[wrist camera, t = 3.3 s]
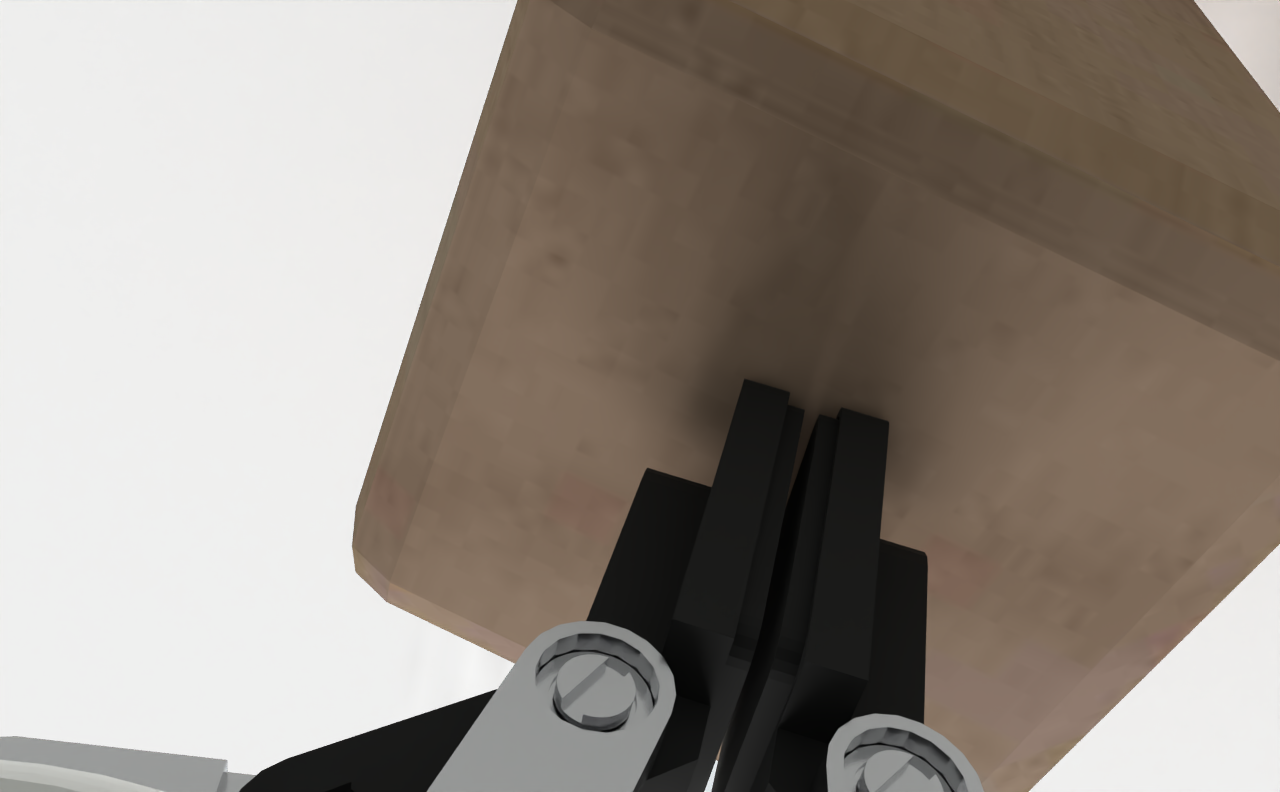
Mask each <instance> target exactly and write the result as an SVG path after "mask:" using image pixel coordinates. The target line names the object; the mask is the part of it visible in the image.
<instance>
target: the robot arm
mask: <svg viewBox="0 0 1280 792" xmlns="http://www.w3.org/2000/svg"><path fill="white" fill-rule="evenodd" d="M789 396H790V392H788V391H785V390H782V389H778V388H775V387H771V386H768V385H765V384H761V383H758V382H755V381H751V380H748V379H744V381H743V385H742V388H741V391H740V395H739V398H738V401H737V405H736V408H735V411H734V415H733V418H732V421H731V425H730V428H729V431H728V435H727V438H726V441H725V445H724V448H723V451H722V455H721V458H720V461H719V465H718V468H717V471H716V475H715V478H714V481H713V485H712V487H709V486H706V485H703V484H700V483H696V482H693V481H690V480H686V479H683V478H680V477H677V476H673V475H670V474H667V473H663V472H660V471H657V470H654V469H650V468H647V469H646V470H645V472H644V475H643V477H642V479H641V482H640V485H639V487H638V490H637V492H636V495H635V497H634V500H633V502H632V505H631V507H630V510H629V513H628V515H627V518H626V520H625V523H624V525H623V528H622V530H621V533H620V536H619V538H618V541H617V543H616V546H615V548H614V551H613V553H612V556H611V558H610V561H609V564H608V566H607V569H606V571H605V574H604V576H603V579H602V581H601V584H600V586H599V589H598V592H597V594H596V597H595V599H594V602H593V604H592V607H591V609H590V612H589V615H588V617H587V620H586V621H578V622H572V623H566V624H560V625H558V626H556V627H554V628H552V629H549V630H547V631H545V632H543V633H541V634H540V635H539V636H538V637H537V638H536V639H535V640H534V641H533V642H532V643H531V644H530V645H529V646H528V647H527V648H526V649H525V650H524V652H523V653H522V655H521V656H520V658H519V659H518V660H517V662H516V663H515V665H514V666H513V668H512V669H511V671H510V672H509V673H508V675H507V676H506V678H505V679H504V681H503V682H502V684H501V685H500V686H499V688H498V689H496V690H493V691H490V692H487V693H484V694H481V695H478V696H475V697H472V698H469V699H466V700H463V701H460V702H457V703H454V704H451V705H448V706H445V707H442V708H439V709H436V710H433V711H430V712H427V713H424V714H421V715H418V716H415V717H412V718H409V719H406V720H403V721H399V722H396V723H393V724H390V725H387V726H384V727H381V728H378V729H375V730H372V731H369V732H366V733H363V734H360V735H357V736H354V737H351V738H348V739H345V740H342V741H339V742H336V743H333V744H330V745H327V746H324V747H321V748H318V749H315V750H312V751H309V752H306V753H303V754H300V755H297V756H294V757H291V758H288V759H285V760H283V761H281V762H279V763H277V764H275V765H273V766H271V767H269V768H267V769H264V770H262V771H261V772H260V773H259V774H257V775H249V774H240V773H231V772H227V760H222V759H213V758H205V757H196V756H187V755H178V754H169V753H160V752H151V751H142V750H133V749H125V748H116V747H107V746H98V745H89V744H80V743H71V742H62V741H54V740H45V739H36V738H27V737H18V736H11V737H0V792H704V791H705V788H706V785H707V782H708V780H709V777H710V774H711V772H712V769H713V766H714V763H715V761H716V758H717V755H718V752H719V750H720V747H721V750H720V755H719V760H718V764H717V769H716V773H715V778H714V783H713V787H712V792H984V790H983V787H982V785H981V782H980V779H979V777H978V774H977V773H976V771H975V770H974V768H973V767H972V765H971V764H970V763H969V761H968V760H967V758H966V757H965V756H964V754H963V753H962V752H961V751H960V750H959V749H957V748H956V747H955V746H954V745H953V744H952V743H951V742H950V741H949V740H947V739H946V738H945V737H944V736H943V735H941V734H939V733H937V732H936V731H934V730H932V729H931V728H929V727H927V726H925V725H924V708H925V667H926V627H927V586H928V559H927V555H926V553H925V552H923V551H919V550H916V549H913V548H910V547H906V546H903V545H900V544H896V543H893V542H890V541H887V540H883V539H880V532H881V520H882V508H883V496H884V484H885V471H886V459H887V447H888V435H889V422H888V421H886V420H883V419H880V418H876V417H873V416H870V415H866V414H863V413H859V412H856V411H853V410H849V409H846V408H843V407H841V409H840V410H839V412H838V415H837V417H836V419H835V418H831V417H828V416H825V415H821V414H819V416H818V418H817V420H816V423H815V426H814V428H813V431H812V434H811V437H810V440H809V443H808V445H807V448H806V451H805V454H804V457H803V460H802V463H801V465H800V468H799V471H798V474H797V477H796V480H795V482H794V485H793V488H792V491H791V494H790V497H789V499H788V502H787V497H788V492H789V487H790V483H791V478H792V473H793V468H794V463H795V458H796V453H797V448H798V443H799V438H800V433H801V428H802V423H803V418H804V413H805V410H804V409H801V408H798V407H794V406H791V405H788V401H789ZM786 502H787V505H786ZM785 507H786V508H785ZM721 744H722V746H721Z"/></svg>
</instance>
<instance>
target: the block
mask: <svg viewBox="0 0 1280 792" xmlns="http://www.w3.org/2000/svg"><path fill="white" fill-rule="evenodd" d="M744 379H748V380H751V381H755V382H758V383H761V384H765V385H768V386H771V387H775V388H778V389H782V390H785V391H788V392H790V396H789V401H788V405H791V406H794V407H798V408H801V409H804V410H805V413H804V418H803V423H802V428H801V433H800V438H799V443H798V448H797V453H796V458H795V463H794V468H793V473H792V478H791V483H790V487H789V492H788V497H787V502H788V499H789V497H790V494H791V491H792V488H793V485H794V482H795V480H796V477H797V474H798V471H799V468H800V465H801V463H802V460H803V457H804V454H805V451H806V448H807V445H808V443H809V440H810V437H811V434H812V431H813V428H814V426H815V423H816V420H817V418H818V416H819V414H821V415H825V416H828V417H831V418H835V419H836V417H837V415H838V412H839V410H840V409H841V407H843V408H846V409H849V410H853V411H856V412H859V413H863V414H866V415H870V416H873V417H876V418H880V419H883V420H886V421H888V422H889V435H888V447H887V459H886V471H885V484H884V496H883V508H882V520H881V532H880V539H883V540H887V541H890V542H893V543H896V544H900V545H903V546H906V547H910V548H913V549H916V550H919V551H923V552H925V553H926V555H927V559H928V586H927V627H926V667H925V708H924V725H925V726H927V727H929V728H931V729H932V730H934V731H936V732H937V733H939V734H941V735H943V736H944V737H945V738H946V739H947V740H949V741H950V742H951V743H952V744H953V745H954V746H955V747H956V748H957V749H959V750H960V751H961V752H962V753H963V754H964V756H965V757H966V758H967V760H968V761H969V763H970V764H971V765H972V767H973V768H974V770H975V771H976V773H977V774H978V777H979V779H980V782H981V785H982V787H983V790H984V792H1028V791H1029V790H1030V789H1031V788H1032V787H1033V786H1035V785H1036V784H1037V783H1038V782H1039V781H1040V780H1041V779H1042V778H1043V777H1044V776H1045V775H1046V774H1047V773H1048V772H1049V771H1050V770H1051V769H1052V768H1053V767H1054V766H1055V765H1056V764H1057V763H1058V762H1059V761H1060V760H1061V759H1062V758H1063V757H1064V756H1065V755H1066V754H1067V753H1068V752H1069V751H1070V750H1071V749H1072V748H1073V747H1074V746H1075V745H1076V744H1077V743H1078V742H1079V741H1080V740H1081V739H1082V738H1083V737H1084V736H1085V735H1086V734H1087V733H1088V732H1089V731H1090V730H1091V729H1092V728H1093V727H1094V726H1095V725H1096V724H1097V723H1098V722H1099V721H1100V720H1101V719H1102V718H1104V717H1105V716H1106V715H1107V714H1108V713H1109V712H1110V711H1111V710H1112V709H1113V708H1114V707H1115V706H1116V705H1117V704H1118V703H1119V702H1120V701H1121V700H1122V699H1123V698H1124V697H1125V696H1126V695H1127V694H1128V693H1129V692H1130V691H1131V690H1132V689H1133V688H1134V687H1135V686H1136V685H1137V684H1138V683H1139V682H1140V681H1141V680H1142V679H1143V678H1144V677H1145V676H1146V675H1147V674H1148V673H1149V672H1150V671H1151V670H1152V669H1153V668H1154V667H1155V666H1156V665H1157V664H1158V663H1159V662H1160V661H1161V660H1162V659H1163V658H1164V657H1165V656H1166V655H1167V654H1168V653H1169V652H1170V651H1172V650H1173V649H1174V648H1175V647H1176V646H1177V645H1178V644H1179V643H1180V642H1181V641H1182V640H1183V639H1184V638H1185V637H1186V636H1187V635H1188V634H1189V633H1190V632H1191V631H1192V630H1193V629H1194V628H1195V627H1196V626H1197V625H1198V624H1199V623H1200V622H1201V621H1202V620H1203V619H1204V618H1205V617H1206V616H1207V615H1208V614H1209V613H1210V612H1211V611H1212V610H1213V609H1214V608H1215V607H1216V606H1217V605H1218V604H1219V603H1220V602H1221V601H1222V600H1223V599H1224V598H1225V597H1226V596H1227V595H1228V594H1229V593H1230V592H1231V591H1232V590H1233V589H1234V588H1235V587H1236V586H1237V585H1238V584H1239V583H1241V582H1242V581H1243V580H1244V579H1245V578H1246V577H1247V576H1248V575H1249V574H1250V573H1251V572H1252V571H1253V570H1254V569H1255V568H1256V567H1257V566H1258V565H1259V564H1260V563H1261V562H1262V561H1263V560H1264V559H1265V558H1266V557H1267V556H1268V555H1269V554H1270V553H1271V552H1272V551H1273V550H1274V549H1275V548H1276V547H1277V546H1278V545H1279V544H1280V112H1279V111H1278V110H1277V108H1276V107H1275V106H1274V105H1273V103H1272V102H1271V101H1270V99H1269V98H1268V97H1267V95H1266V94H1265V93H1264V91H1263V90H1262V89H1261V88H1260V86H1259V85H1258V84H1257V82H1256V81H1255V80H1254V78H1253V77H1252V76H1251V75H1250V73H1249V72H1248V71H1247V69H1246V68H1245V67H1244V65H1243V64H1242V63H1241V62H1240V60H1239V59H1238V58H1237V56H1236V55H1235V54H1234V52H1233V51H1232V50H1231V49H1230V47H1229V46H1228V45H1227V43H1226V42H1225V41H1224V39H1223V38H1222V37H1221V36H1220V34H1219V33H1218V32H1217V30H1216V29H1215V28H1214V26H1213V25H1212V24H1211V22H1210V21H1209V20H1208V19H1207V17H1206V16H1205V15H1204V13H1203V12H1202V11H1201V9H1200V8H1199V7H1198V6H1197V4H1196V3H1195V2H1194V0H518V1H517V4H516V7H515V10H514V13H513V16H512V19H511V23H510V26H509V29H508V32H507V35H506V38H505V41H504V45H503V48H502V51H501V54H500V57H499V60H498V63H497V66H496V70H495V73H494V76H493V79H492V82H491V85H490V88H489V91H488V95H487V98H486V101H485V104H484V107H483V110H482V113H481V116H480V120H479V123H478V126H477V129H476V132H475V135H474V138H473V142H472V145H471V148H470V151H469V154H468V157H467V160H466V163H465V167H464V170H463V173H462V176H461V179H460V182H459V185H458V188H457V192H456V195H455V198H454V201H453V204H452V207H451V210H450V214H449V217H448V220H447V223H446V226H445V229H444V232H443V235H442V239H441V242H440V245H439V248H438V251H437V254H436V257H435V260H434V264H433V267H432V270H431V273H430V276H429V279H428V282H427V285H426V289H425V292H424V295H423V298H422V301H421V304H420V307H419V311H418V314H417V317H416V320H415V323H414V326H413V329H412V332H411V336H410V339H409V342H408V345H407V348H406V351H405V354H404V357H403V361H402V364H401V367H400V370H399V373H398V376H397V379H396V383H395V386H394V389H393V392H392V395H391V398H390V401H389V404H388V408H387V411H386V414H385V417H384V420H383V423H382V426H381V429H380V433H379V436H378V439H377V442H376V445H375V448H374V451H373V454H372V458H371V461H370V464H369V467H368V470H367V473H366V476H365V480H364V483H363V486H362V489H361V492H360V495H359V498H358V501H357V505H356V511H355V522H354V532H353V542H352V549H353V556H354V563H355V571H356V573H357V574H358V575H359V576H360V577H361V578H362V579H364V580H365V581H366V582H367V583H368V584H369V585H370V586H371V587H372V588H373V589H374V590H375V591H376V592H377V593H378V594H379V595H380V596H381V597H382V598H383V599H384V600H385V601H386V602H388V603H390V604H392V605H394V606H396V607H398V608H401V609H403V610H405V611H407V612H409V613H411V614H413V615H415V616H417V617H419V618H421V619H423V620H426V621H428V622H430V623H432V624H434V625H436V626H438V627H440V628H442V629H444V630H446V631H448V632H451V633H453V634H455V635H457V636H459V637H461V638H463V639H465V640H467V641H469V642H471V643H473V644H476V645H478V646H480V647H482V648H484V649H486V650H488V651H490V652H492V653H494V654H496V655H498V656H501V657H503V658H505V659H507V660H509V661H511V662H513V663H516V662H517V660H518V659H519V658H520V656H521V655H522V653H523V652H524V650H525V649H526V648H527V647H528V646H529V645H530V644H531V643H532V642H533V641H534V640H535V639H536V638H537V637H538V636H539V635H540V634H541V633H543V632H545V631H547V630H549V629H552V628H554V627H556V626H558V625H560V624H566V623H572V622H578V621H586V620H587V617H588V615H589V612H590V609H591V607H592V604H593V602H594V599H595V597H596V594H597V592H598V589H599V586H600V584H601V581H602V579H603V576H604V574H605V571H606V569H607V566H608V564H609V561H610V558H611V556H612V553H613V551H614V548H615V546H616V543H617V541H618V538H619V536H620V533H621V530H622V528H623V525H624V523H625V520H626V518H627V515H628V513H629V510H630V507H631V505H632V502H633V500H634V497H635V495H636V492H637V490H638V487H639V485H640V482H641V479H642V477H643V475H644V472H645V470H646V469H647V468H650V469H654V470H657V471H660V472H663V473H667V474H670V475H673V476H677V477H680V478H683V479H686V480H690V481H693V482H696V483H700V484H703V485H706V486H709V487H712V485H713V481H714V478H715V475H716V471H717V468H718V465H719V461H720V458H721V455H722V451H723V448H724V445H725V441H726V438H727V435H728V431H729V428H730V425H731V421H732V418H733V415H734V411H735V408H736V405H737V401H738V398H739V395H740V391H741V388H742V385H743V381H744ZM787 502H786V505H787ZM785 508H786V507H785ZM721 746H722V744H721ZM720 750H721V747H720ZM720 750H719V752H718V755H717V758H716V760H717V761H718V760H719V755H720Z"/></svg>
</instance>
